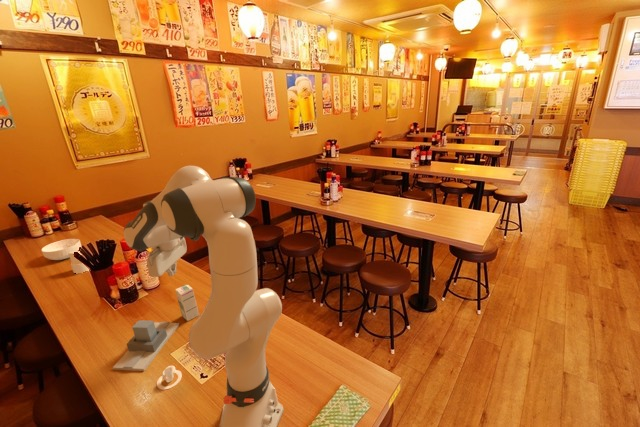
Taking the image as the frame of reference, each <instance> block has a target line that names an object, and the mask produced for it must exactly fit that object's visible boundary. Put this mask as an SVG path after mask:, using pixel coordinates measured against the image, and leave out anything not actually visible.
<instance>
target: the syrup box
mask: <svg viewBox="0 0 640 427" xmlns="http://www.w3.org/2000/svg"><path fill="white" fill-rule="evenodd" d="M175 294H176V298H177V300H178V301H177V302H178V306H179V310H180V312H181V313H180V314H181V316H182V318H183V319H184V320H185V321H186V322H189V321H191V320H192V319H195V318H198V317H200V313H199V308H198V304H197V301H196V297H195V293H194V289H193V287H191V286H190V285H189V284H187V283H186V284H184V285H182V286H180V287H178V288H175Z"/></svg>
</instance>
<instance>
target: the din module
mask: <svg viewBox="0 0 640 427" xmlns="http://www.w3.org/2000/svg"><path fill="white" fill-rule="evenodd" d="M131 329H132V331H133V334H134V335H135V338H136V341H140V342H152V340H153V339H154V338H155V337H156V336H157V332H156V328H155V325H154V320H143V319H141V320H138V321H136V323H134V324H133V326H132V327H131ZM134 335H133V336H134Z"/></svg>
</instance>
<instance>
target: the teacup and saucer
mask: <svg viewBox="0 0 640 427" xmlns="http://www.w3.org/2000/svg"><path fill="white" fill-rule="evenodd" d="M174 374H176V375H177V379H176V381H174V383H172V384H170V385H168V386H164V385H162V380H163V379H164V380H165V382H166V383H171V382H172V381H173V380H174V377H175V376H174ZM182 377H183V374H182V371H181V370H179V369H178V370H177V369H176V367H175V366H174V365H168V366H166V367H165V369H164V370H163V371H162V375H161V376H160V377H159V378H158V379H157V381H156V386H157V388H158V389H159V390H161V391H163V390H164V391H165V390H169V389H172V388H174V387H176V385H178V384H179V383H180V382H181V380H182Z"/></svg>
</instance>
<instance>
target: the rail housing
mask: <svg viewBox="0 0 640 427" xmlns="http://www.w3.org/2000/svg"><path fill="white" fill-rule="evenodd" d="M154 325H155V328H156V332H157V336H156V337H155V338H154V339H153V340H152V342H140V341H136V338H135V335H133V336H132V337H131V339H130V340H128V342H127V343H126V346H127V351H126V352H125V353H124V354H123V355H122V356H121V357H120V359H119V360H118V361H117V362H116V363H115V364H114V365H113V366H112V370H114V371H115V370H116V371H134V372H145V371H146V369H148V367H149V366H150V364H151V363H152V362H153V360H154V359H155V358H156V357H157V355H158V354H159V353H160V351H161V350H162V348H163V347H164V346H165V344H166V343H167V342H168V340H169V339H170V338H171V337H172V336H173V334H174V333H175V331H176V330H177V329H178V327H179V326H180V322H170V321H161V322H157V321H155V322H154Z"/></svg>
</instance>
